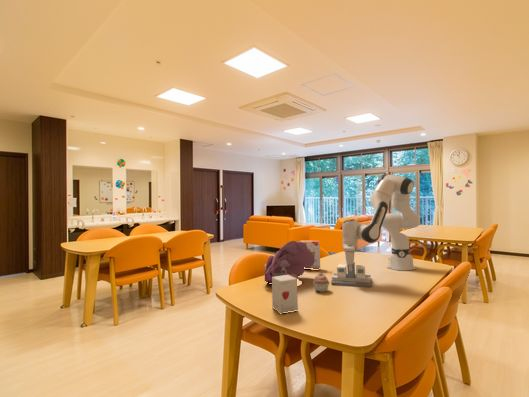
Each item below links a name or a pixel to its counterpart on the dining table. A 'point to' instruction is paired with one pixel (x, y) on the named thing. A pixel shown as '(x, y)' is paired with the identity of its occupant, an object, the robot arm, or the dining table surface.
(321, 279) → the cupcake
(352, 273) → the block
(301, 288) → the dining table surface
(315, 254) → the cracker box
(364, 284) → the rail plate
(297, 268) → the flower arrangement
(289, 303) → the supplement box
